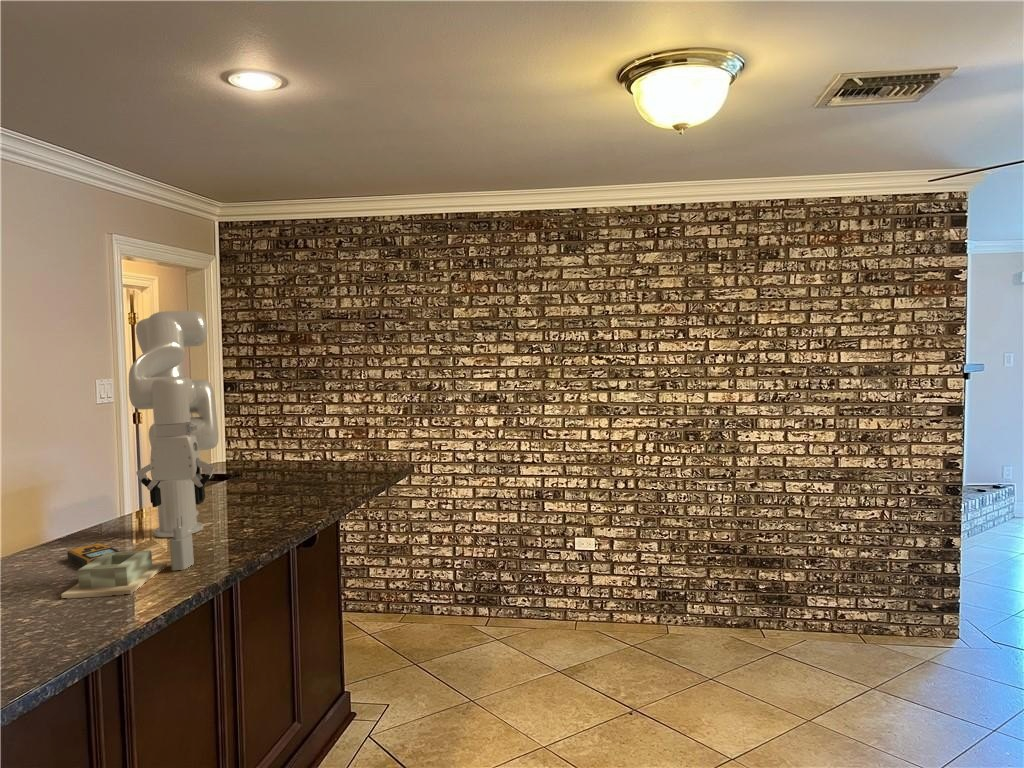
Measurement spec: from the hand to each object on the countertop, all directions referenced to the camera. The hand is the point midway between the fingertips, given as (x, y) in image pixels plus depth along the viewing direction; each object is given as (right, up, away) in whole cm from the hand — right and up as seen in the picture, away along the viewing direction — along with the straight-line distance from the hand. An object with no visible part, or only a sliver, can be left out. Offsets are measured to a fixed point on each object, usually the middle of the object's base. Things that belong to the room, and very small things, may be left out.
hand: (178, 504), depth 164 cm
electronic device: (-24, -16, +9) cm, 30 cm away
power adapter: (0, -15, +2) cm, 15 cm away
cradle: (-10, -16, -7) cm, 20 cm away
